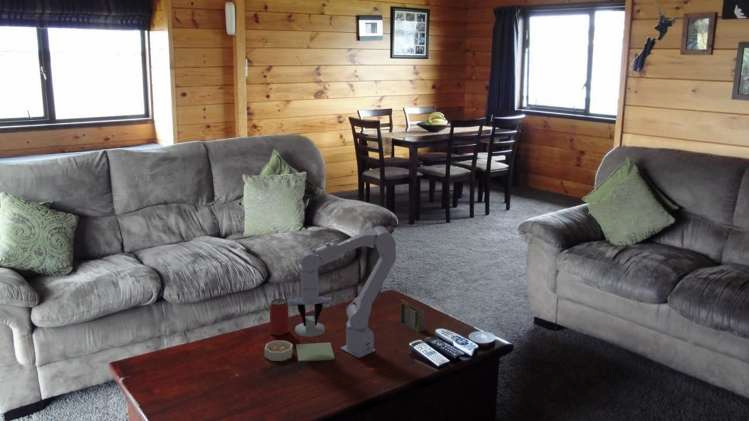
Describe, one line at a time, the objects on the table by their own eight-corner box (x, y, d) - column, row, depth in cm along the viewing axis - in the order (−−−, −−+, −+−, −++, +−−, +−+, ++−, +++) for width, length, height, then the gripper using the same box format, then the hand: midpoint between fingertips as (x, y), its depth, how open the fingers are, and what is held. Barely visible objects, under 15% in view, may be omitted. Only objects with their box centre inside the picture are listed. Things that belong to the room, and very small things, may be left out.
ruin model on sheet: (399, 322, 258) (400, 298, 255) (405, 321, 259) (406, 297, 257) (417, 333, 248) (418, 308, 246) (424, 331, 250) (425, 307, 248)
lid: (323, 323, 234) (323, 311, 233) (326, 335, 225) (326, 323, 224) (294, 325, 232) (294, 313, 231) (296, 337, 223) (296, 325, 222)
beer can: (290, 329, 249) (290, 298, 246) (286, 336, 242) (285, 305, 239) (272, 328, 249) (272, 297, 246) (268, 335, 243) (267, 304, 240)
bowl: (297, 354, 229) (297, 346, 228) (276, 363, 222) (276, 355, 222) (281, 346, 235) (281, 338, 234) (259, 354, 228) (259, 346, 228)
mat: (330, 343, 238) (330, 342, 237) (334, 359, 226) (334, 358, 226) (296, 345, 235) (296, 344, 235) (298, 361, 224) (298, 360, 224)
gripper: (288, 292, 219) (289, 331, 223) (332, 290, 222) (332, 328, 225) (287, 284, 226) (287, 322, 230) (330, 282, 229) (330, 319, 232)
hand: (310, 324), depth 228 cm, fingers closed on lid, 3 cm apart
